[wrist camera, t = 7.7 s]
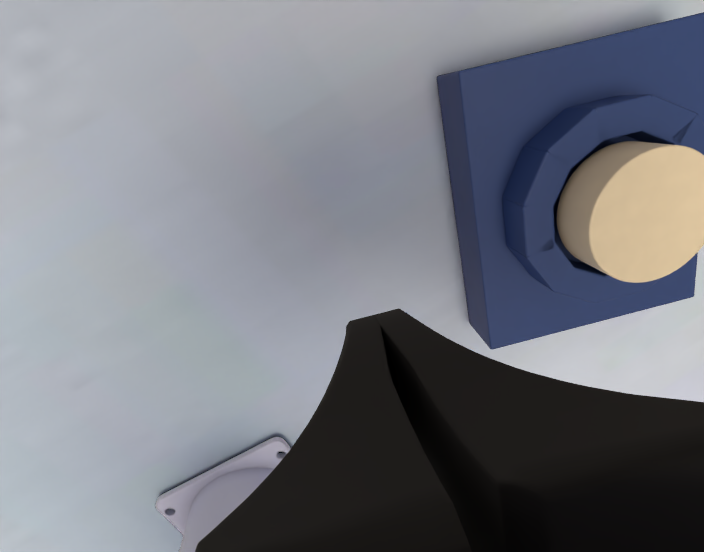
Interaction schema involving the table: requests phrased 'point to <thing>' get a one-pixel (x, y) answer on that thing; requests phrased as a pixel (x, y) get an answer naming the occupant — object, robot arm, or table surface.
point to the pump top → (635, 210)
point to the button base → (560, 169)
